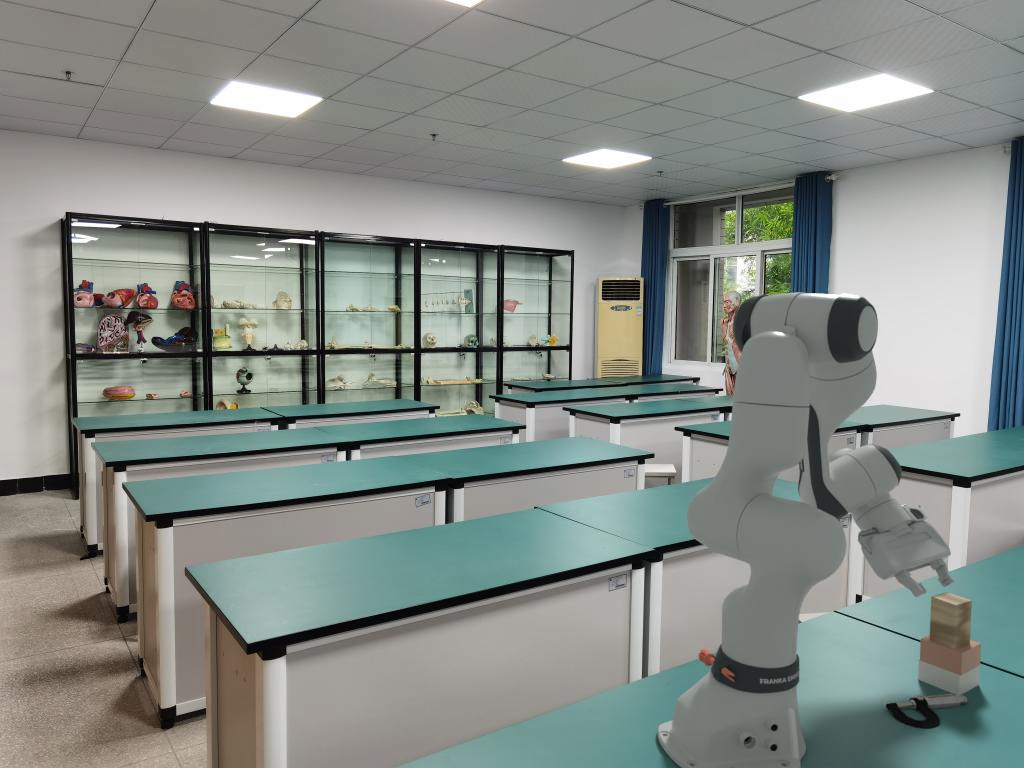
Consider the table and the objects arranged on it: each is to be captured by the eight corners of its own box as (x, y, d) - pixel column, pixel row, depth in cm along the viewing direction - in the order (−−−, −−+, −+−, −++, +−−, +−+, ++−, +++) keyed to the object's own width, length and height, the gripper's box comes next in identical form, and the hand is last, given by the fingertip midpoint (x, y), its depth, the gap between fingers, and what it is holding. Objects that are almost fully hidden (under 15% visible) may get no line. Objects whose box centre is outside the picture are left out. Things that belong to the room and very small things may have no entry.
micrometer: (910, 733, 114) (911, 718, 114) (880, 709, 121) (881, 695, 121) (993, 724, 117) (993, 709, 116) (959, 702, 124) (959, 688, 123)
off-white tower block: (958, 697, 125) (959, 675, 125) (918, 680, 131) (918, 659, 130) (978, 686, 129) (979, 664, 128) (938, 670, 134) (939, 650, 134)
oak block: (954, 649, 126) (956, 605, 125) (929, 639, 130) (931, 596, 129) (969, 644, 128) (971, 600, 127) (945, 634, 132) (946, 592, 131)
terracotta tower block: (961, 675, 124) (962, 653, 124) (919, 660, 130) (920, 639, 130) (980, 664, 128) (981, 643, 128) (939, 650, 134) (939, 629, 134)
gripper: (865, 524, 131) (917, 592, 123) (926, 509, 141) (977, 571, 134) (842, 541, 135) (890, 609, 127) (903, 526, 145) (951, 587, 138)
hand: (936, 589), depth 130 cm, fingers open, 8 cm apart
